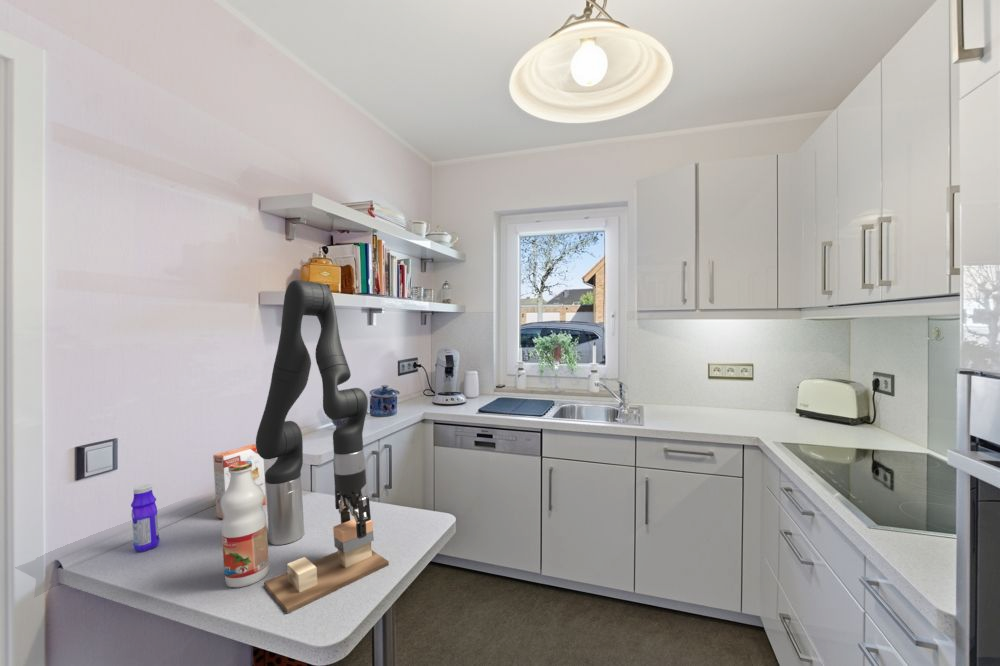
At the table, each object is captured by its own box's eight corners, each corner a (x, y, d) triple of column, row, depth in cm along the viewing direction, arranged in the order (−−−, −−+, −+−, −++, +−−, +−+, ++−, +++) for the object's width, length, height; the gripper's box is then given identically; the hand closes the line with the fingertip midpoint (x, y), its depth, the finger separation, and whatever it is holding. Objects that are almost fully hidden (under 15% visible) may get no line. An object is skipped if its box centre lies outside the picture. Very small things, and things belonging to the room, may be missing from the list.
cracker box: (227, 521, 141) (222, 456, 140) (215, 518, 143) (211, 454, 143) (267, 503, 153) (263, 444, 153) (256, 501, 156) (252, 443, 155)
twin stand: (264, 586, 103) (263, 565, 103) (359, 545, 120) (358, 527, 120) (287, 613, 92) (286, 590, 92) (388, 565, 109) (387, 545, 109)
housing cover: (363, 525, 115) (362, 515, 115) (372, 530, 112) (372, 520, 112) (333, 536, 110) (333, 526, 110) (342, 542, 106) (342, 532, 106)
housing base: (364, 534, 115) (363, 525, 115) (373, 540, 112) (373, 530, 112) (334, 546, 110) (334, 536, 110) (343, 553, 106) (343, 543, 106)
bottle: (132, 547, 126) (127, 487, 126) (156, 539, 130) (152, 481, 130) (136, 555, 121) (131, 492, 121) (161, 546, 125) (157, 486, 125)
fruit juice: (275, 574, 108) (268, 461, 107) (233, 593, 100) (225, 472, 100) (260, 562, 114) (253, 455, 113) (219, 579, 107) (211, 465, 106)
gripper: (377, 470, 108) (381, 535, 108) (350, 459, 118) (354, 519, 118) (348, 478, 103) (352, 547, 103) (323, 466, 113) (327, 529, 113)
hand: (353, 532), depth 111 cm, fingers open, 8 cm apart
